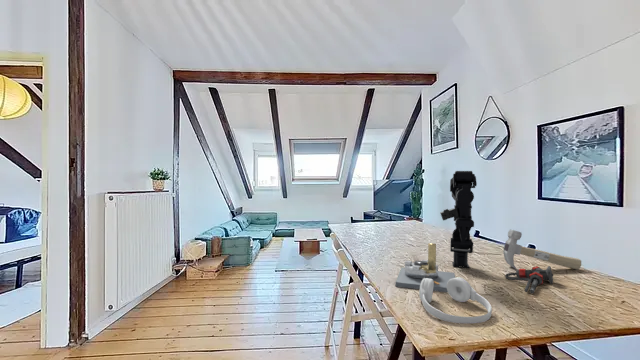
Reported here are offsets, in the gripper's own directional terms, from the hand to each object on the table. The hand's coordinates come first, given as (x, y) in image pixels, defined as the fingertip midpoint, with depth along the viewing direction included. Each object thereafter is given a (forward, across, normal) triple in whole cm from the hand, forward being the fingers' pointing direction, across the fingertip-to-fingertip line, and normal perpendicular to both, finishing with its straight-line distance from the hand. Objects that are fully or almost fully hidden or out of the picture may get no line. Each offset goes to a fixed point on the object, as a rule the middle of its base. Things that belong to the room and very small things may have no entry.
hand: (462, 241), depth 128 cm
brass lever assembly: (+11, +13, -14) cm, 23 cm away
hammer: (+13, -22, +32) cm, 41 cm away
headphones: (+14, +38, -5) cm, 40 cm away
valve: (+14, +3, +21) cm, 25 cm away
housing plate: (+13, +14, -13) cm, 23 cm away
